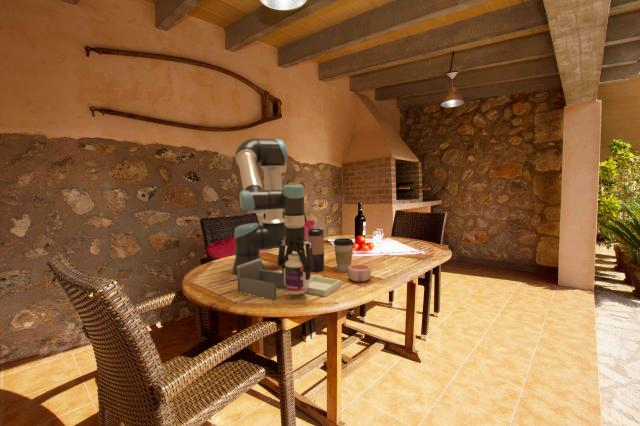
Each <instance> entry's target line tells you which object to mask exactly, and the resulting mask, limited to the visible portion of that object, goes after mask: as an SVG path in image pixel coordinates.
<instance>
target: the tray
mask: <svg viewBox="0 0 640 426" xmlns="http://www.w3.org/2000/svg"><path fill="white" fill-rule="evenodd" d="M340 287H342V280H341V279H337V278H336V279H335V278H328V277H322V276H316V275H312V276H311V275H310V279H309V287H308V288H307V290H306V292H304V293H303V294H309V295H311V296H312V295H314V296H319V297H324V298H326V297H328V296H329V295H330V294H332V293H333V292H335V291H336V290H337V289H339V288H340Z"/></svg>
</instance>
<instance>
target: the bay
mask: <svg viewBox="0 0 640 426" xmlns="http://www.w3.org/2000/svg"><path fill="white" fill-rule="evenodd" d="M262 263H263V260H262V258H261V259H260V258H259V259H256V260H253V261H250V262H247V263H245V264H242V265H239V266H237V274H236V276H237V277H236V278H237V293H238V292H241V293H240V294H242V293H246V294H245V295H247V294H251V295H250V296H252V295H255V296H254V297H256V296H259V297H258V298H261V297H264V298H263V299H265V298H267V299H266V300H270V299H272V300H271V301H276V300H277V288H280V289H285V290H286V285H284V276H283V275H282V272H279V271H272V270H268V269H267V270H266V269H264V270H262Z"/></svg>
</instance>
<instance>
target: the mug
mask: <svg viewBox="0 0 640 426" xmlns="http://www.w3.org/2000/svg"><path fill="white" fill-rule="evenodd" d="M371 274H372V273H371V267H370V266H369V265H368V264H362V263H355V264H351V265H350V266H349V267H348V271H347V275H348V277H349V279H350V280H352V281H353V282H358V283H359V282H366V281H368V280H369V279H370V276H371Z"/></svg>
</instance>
